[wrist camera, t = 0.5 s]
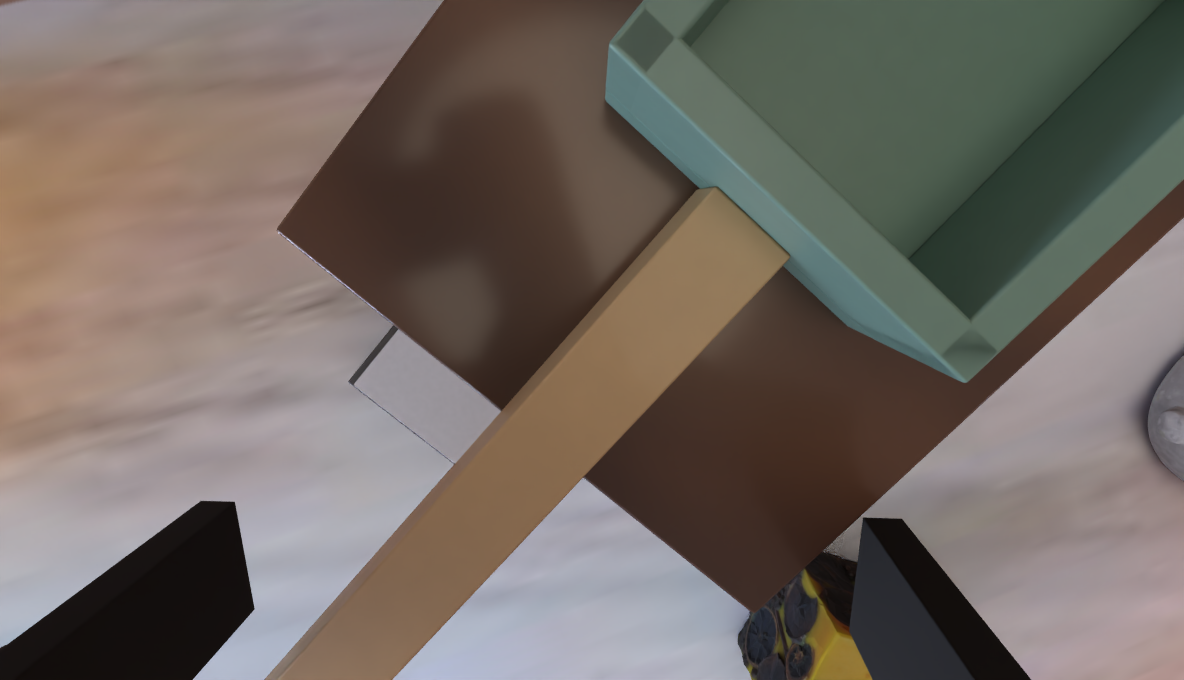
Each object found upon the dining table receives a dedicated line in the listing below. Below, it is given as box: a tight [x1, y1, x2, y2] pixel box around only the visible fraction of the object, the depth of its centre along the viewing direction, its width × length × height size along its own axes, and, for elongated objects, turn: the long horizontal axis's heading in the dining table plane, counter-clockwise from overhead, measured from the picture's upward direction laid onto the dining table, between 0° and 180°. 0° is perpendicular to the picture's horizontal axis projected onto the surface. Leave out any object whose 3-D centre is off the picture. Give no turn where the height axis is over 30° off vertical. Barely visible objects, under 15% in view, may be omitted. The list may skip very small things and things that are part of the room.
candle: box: [738, 552, 872, 680], centre depth 42 cm, size 10×10×10 cm
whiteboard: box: [349, 326, 501, 464], centre depth 40 cm, size 15×14×3 cm
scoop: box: [265, 0, 1184, 680], centre depth 9 cm, size 21×6×4 cm, turn 139°
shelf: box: [277, 0, 1184, 613], centre depth 25 cm, size 14×12×30 cm
